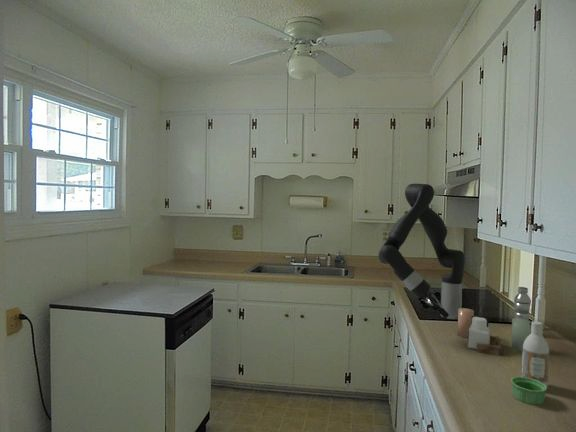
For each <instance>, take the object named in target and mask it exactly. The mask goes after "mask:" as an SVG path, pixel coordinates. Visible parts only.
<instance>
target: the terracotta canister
mask: <svg viewBox="0 0 576 432" xmlns="http://www.w3.org/2000/svg"><path fill="white" fill-rule="evenodd" d="M474 313H475V310H474V309H471V308H465V307H461V308H459V309H458V319H457V333H456V334H457V336H458V337H461V338H464V339H468V332H469V328H470V326H471V318H472V316H475V315H474Z"/></svg>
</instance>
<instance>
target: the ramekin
mask: <svg viewBox="0 0 576 432" xmlns="http://www.w3.org/2000/svg"><path fill="white" fill-rule="evenodd" d="M510 379H511V380H510V382H511V393H512V396H513V397H514V398H515V399H516V400H518V401H520V402H522V403H524V404H527V405H535V406H536V405H537V406H538V405H542V404H544V403H545V398H546V393H547V391H548V386H547V387H546V386H545V385H544V384H543V383H541V382H540V381H537V380H535V379H531V378H526V377H522V376H514V377H512V378H510Z"/></svg>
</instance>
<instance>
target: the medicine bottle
mask: <svg viewBox="0 0 576 432" xmlns="http://www.w3.org/2000/svg"><path fill="white" fill-rule="evenodd" d="M489 321H490V319H489V318H487V317H486V316H484V315H477V314H475V315H474V316H472V318H471V326H470V328H469V332H468V338H467V348H468V349H473V350H477V343H480V344H487V345H491V344H490V335H491V328H489Z"/></svg>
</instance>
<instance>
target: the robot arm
mask: <svg viewBox="0 0 576 432" xmlns="http://www.w3.org/2000/svg"><path fill="white" fill-rule="evenodd" d="M404 195H405V196H404V197H405V198H406V201H407V203H408V205H409V206H410V207H411V208H410V209H409V210H408V211H407V212H406V213H405V214H404V215H402V216H401V217H400V218H399V219H398V220H397V221H396V222H395V223H394V225H393V227H392V229H391V231H390V232H389V235H388V236H387V239H386V240H385V242H384V243H383V245H382V246H381V248H380V249H379V252H378V260H379V261H380V262H381V263H382V264H385V265H388V264H389V266H390V267H391V268H392V269H393V273H394V275H395V276H396V277H397V278H398V279H399V280H400V281H401V282H402V283H403V285H404V286H405V287H406V288H407V289H408V291H409V292H411V293H412V295H414V296H415V298H417V299H419V298H423V299H424V300H423V301H424V303H426V305H427V306H428V307H429V308H431V309H432V310H433V311H435V312H437V313H439V314H440V317H442V318H444V319H447V320H458V309H459V308H463V307H462V304H463V303H462V302H463V299H462V298H463V297H462V293H463V292H462V291H463V290H462V288H463V278H464V273H465V272H464V271H465V262H466V261H465V260H466V259H465V254H464V252H463V251H462V250H458V249H451V248H448V247H447V246H446V243H445V240H446V238H447V236H448V229H447V226H446V224H445V222H444V220H443V218H442V217H441V215H439V214H438V213H437V212H436V211H434V210H433V209H432V208H431V207H429V206H430V204H431V203H432V202H433V199H434V196H435V191H434V187H433V186H432V185H430V184H428V183H427V184H426V183H409V184H408V185H407V186H406V187H405V190H404ZM418 220H419V223H420V224H421V226H422V227H423V230H424V232H425V233H426V235H427V237H428V239H429V241H430V243H431V245H432V248H433V250H434V252H435V255H436V258H437V260H438V262H439V264H440V265H441V266H442V267H443V268H448V269H451V272H449V273H448V274H443V275H442V276H441V293H440V294H441V295H440V300H439V299H438V298H437V297H436V295H435V294H434V293H433V292H431V291H430V290H431V287H432V286H431V284H430V283H428V282H427V280H425V278H423V276H422V275H421V274H420V273H419V272H418V271H416V270H415V269H414V268H413V267H412V266H411V264H409V263H408V262H407V261H406V259H405V257H404V256H403V254H402V253H401V252H400V249H401V247H402V245H403V244H404V243H405V242H406V240H407V238H408V236H409V234H410V232H411V231H412V228H413V227H414V225H415V224H416V223H417V221H418Z"/></svg>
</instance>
